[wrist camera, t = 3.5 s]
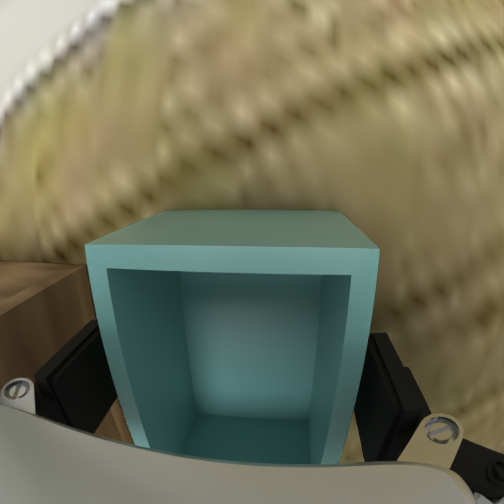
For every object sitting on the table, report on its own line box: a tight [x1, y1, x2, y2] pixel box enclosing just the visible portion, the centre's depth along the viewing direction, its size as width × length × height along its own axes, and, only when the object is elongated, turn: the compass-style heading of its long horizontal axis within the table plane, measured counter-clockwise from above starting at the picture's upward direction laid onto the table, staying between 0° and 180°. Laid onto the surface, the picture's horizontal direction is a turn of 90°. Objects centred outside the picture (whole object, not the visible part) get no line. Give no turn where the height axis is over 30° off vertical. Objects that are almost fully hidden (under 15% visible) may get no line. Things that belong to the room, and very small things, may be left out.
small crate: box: [85, 210, 380, 464], centre depth 11 cm, size 7×11×6 cm, turn 1°
